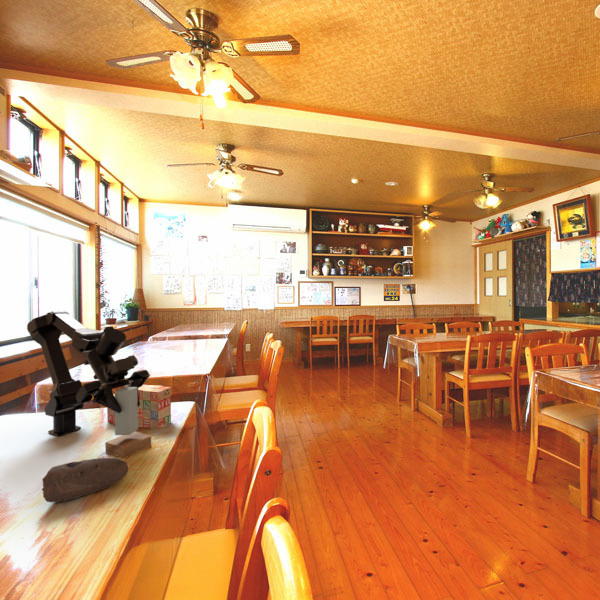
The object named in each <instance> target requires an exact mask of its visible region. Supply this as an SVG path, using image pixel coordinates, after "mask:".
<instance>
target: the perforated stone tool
mask: <svg viewBox="0 0 600 600" xmlns="http://www.w3.org/2000/svg"><path fill="white" fill-rule="evenodd" d="M128 470H129V466H128V463H127V462H126V461H125V460H124V459H121V458H116V457H98V458H92V459H91V458H90V459H82V460H79V461H71V462H69V463H68V462H66V463H63V464H60V465H55V466H52V467H51V468H50V469H49V470H48V471H47V472H46V474H45V476H44V477H43V478H41V479H42V480H41V481H42V486H43V487H42V489H41V491H42V495H43V498H44V500H45V501H46V502H47V503H55V502H56V503H57V502H63V501H70V500H73V499H77V498H80V497H82V496H85V495H89V494H92V493H96V492H99V491H101V490H105V489H106V488H109V487H111V486H113V485H115V484H117V483H119V482H121V481H122V480H123V479H124V478H125V476H126V475H127V473H128V472H129V471H128Z"/></svg>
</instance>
